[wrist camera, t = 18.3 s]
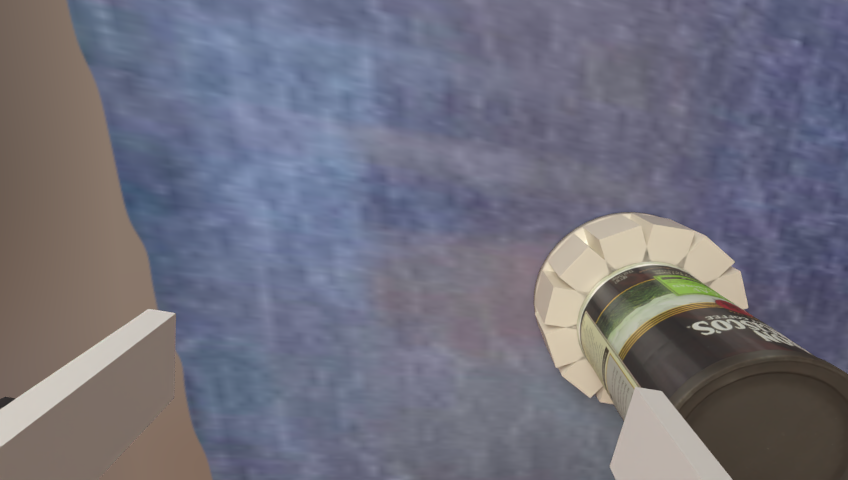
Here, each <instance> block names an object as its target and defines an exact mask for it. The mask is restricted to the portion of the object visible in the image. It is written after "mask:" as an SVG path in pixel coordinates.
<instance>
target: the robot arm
mask: <svg viewBox="0 0 848 480" xmlns="http://www.w3.org/2000/svg"><path fill="white" fill-rule="evenodd" d="M175 327H176V313H171V312H165V311H159V310H152V309H148V310H146V311H145V312H143V313H142V314H141V315H139V316H137V317H136V318H135V319H133V320H132V321H130V322H129V323H127V324H126V325H124V326H123V327H121V328H120V329H118V330H117V331H115V332H114V333H112V334H111V335H109V336H108V337H106V338H105V339H103V340H102V341H100V342H99V343H98V344H96V345H95V346H93V347H92V348H90V349H89V350H87V351H86V352H85V353H83V354H81V355H80V356H78V357H77V358H76V359H74V360H72V361H71V362H69V363H68V364H67V365H65V366H64V367H62V368H61V369H59V370H58V371H56V372H55V373H53V374H52V375H51V376H49V377H47V378H46V379H45V380H43V381H42V382H40V383H39V384H37V385H36V386H34V387H33V388H31V389H30V390H28V391H27V392H25V393H24V394H22V395H21V396H19V397H18V398H16V399H15V398H9V397H4V398H2V399H0V480H99V479H100V477H101V476H102V475H103V474H104V473H105V472H106V471H107V470H108V469H109V468H110V467H111V465H113V463H114V462H115V461H116V460H117V459H118V458H119V457H120V456H121V455H122V454H123V453H124V452H125V450H126V449H127V448H128V447H129V446H130V445H131V444H132V443H133V442H134V440H136V439H137V438H138V436H139V435H140V434H141V433H142V432H143V431H144V430H145V429H146V428H147V427H148V426H149V425H150V423H151V422H152V421H153V420H154V419H155V418H156V417H157V416H158V415H159V414H160V413H161V412H162V411H163V409H164V408H165V407H166V406H167V405H168V404H169V403H170V402H171V401H172V400H173V399H174V380H175V378H174V377H175ZM610 469H611V471H612V473H613V475H614V477H615V479H616V480H732V478H731V477H730V476H729V475H728V473H727V472H726V471H725V470H724V468H723V467H722V466H721V465H720V463H719V462H718V461H717V460H716V458H715V457H714V456H713V455H712V453H711V452H710V451H709V450H708V448H707V447H706V446H705V445H704V443H703V442H702V441H701V440H700V438H699V437H698V436H697V435H696V433H695V432H694V431H693V430H692V428H691V427H690V426H689V425H688V423H687V422H686V421H685V420H684V418H683V417H682V416H681V415H680V413H679V412H678V411H677V410H676V408H675V407H674V406H673V405H672V403H671V402H670V401H669V400H668V398H667V397H666V396H665V395H664V393H663V392H662V391H658V390H652V389H646V388H640V387H635V389H634V392H633V395H632V399H631V402H630V405H629V408H628V411H627V414H626V417H625V420H624V423H623V427H622V430H621V433H620V436H619V439H618V442H617V445H616V448H615V451H614V454H613V458H612V461H611V464H610Z"/></svg>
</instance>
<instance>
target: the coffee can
mask: <svg viewBox="0 0 848 480" xmlns="http://www.w3.org/2000/svg"><path fill="white" fill-rule="evenodd" d="M577 337H578V342H579V346H580V348H581V351H582V353H583V355H584V356H585V358H586V359H587V361H588V362H589V363H590V364H591V366H592V368H593V369H594V371H595V373H596V374H597V376H598V378H599V380H600V381H601V383H602V385H603V386H604V388H605V390H606V391H607V393H608V395H609V397H610V398H611V400H612V402H613V404H614V405H615V407H616V409H617V410H618V412H619V414H620V415H621V417H622V419H623V421H624V420H625V417H626V414H627V411H628V408H629V405H630V402H631V399H632V395H633V392H634V389H635V387H640V388H646V389H652V390H658V391H662V392H663V393H664V395H665V396H666V397H667V398H668V400H669V401H670V402H671V403H672V405H673V406H674V407H675V408H676V410H677V411H678V412H679V413H680V415H681V416H682V417H683V418H684V420H685V421H686V422H687V423H688V425H689V426H690V427H691V428H692V430H693V431H694V432H695V433H696V435H697V436H698V437H699V438H700V440H701V441H702V442H703V443H704V445H705V446H706V447H707V448H708V450H709V451H710V452H711V453H712V455H713V456H714V457H715V458H716V460H717V461H718V462H719V463H720V465H721V466H722V467H723V468H724V470H725V471H726V472H727V473H728V475H729V476H730V477H731V478H732V480H848V374H847V373H845V372H844V371H842V370H841V369H839V368H837V367H836V366H834V365H832V364H830V363H828V362H826V361H825V360H822V359H820V358H817V357H815V356H814V355H812V354H811V353H809V352H808V351H806V350H805V349H803V348H802V347H800V346H799V345H797V344H795V343H794V342H792V341H791V340H789V339H788V338H786V337H785V336H783V335H782V334H780V333H779V332H777V331H775V330H774V329H773V328H771V327H769V326H768V325H766V324H765V323H763V322H762V321H760V320H758V319H757V318H755V317H754V316H752V315H751V314H749V313H748V312H746V311H745V310H743V309H742V308H740V307H739V306H737V305H735V304H734V303H733V302H731V301H729V300H728V299H726V298H725V297H723V296H722V295H720V294H719V293H717V292H716V291H714V290H713V289H711V288H710V287H708V286H707V285H705V284H703V283H702V282H701V281H699V280H698V279H697V278H696V277H694V276H693V275H692V274H690V273H689V272H687V271H686V270H684V269H682V268H680V267H677V266H675V265H673V264H669V263H663V262H641V263H635V264H631V265H628V266H625V267H622V268H620V269H617V270H615V271H613V272H612V273H610V274H609V275H607V276H606V277H604V278H603V279H602V280H601V281H600V282H598V283H597V284H596V285H595V286H594V287H593V289H592V290H591V291H590V292H589V294H588V295H587V297H586V298H585V300H584V302H583V304H582V306H581V308H580V311H579V315H578V320H577Z"/></svg>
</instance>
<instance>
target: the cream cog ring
mask: <svg viewBox="0 0 848 480" xmlns="http://www.w3.org/2000/svg"><path fill="white" fill-rule="evenodd" d="M641 262H663V263H669V264H673V265H675V266H677V267H680V268H682V269H684V270H686V271H687V272H689V273H690V274H692V275H693V276H694V277H696V278H697V279H698V280H699V281H701V282H702V283H703V284H705V285H707V286H708V287H710V288H711V289H713V290H714V291H716V292H717V293H719V294H720V295H722V296H723V297H725V298H726V299H728V300H729V301H731V302H733V303H734V304H735V305H737V306H739V307H740V308H742V309H746V308H748V303H747V299H746V294H745V290H744V285H743V280H742V276H741V271H739V270H737V269H735V268H733V267H731V265H732V264H733V263H734V261H733V260H732V259H731V258H730V257H729V256H728V255H727V254H726V253H724V252H723V251H722V250H721V249H720V248H719V247H718V246H717V245H715V244H714V243H713V242H712V241H711V240H710V239H709V238H708V237H707V236H705V235H703V234H701V233H698V232H696V231H694V230H692V229H690V228H688V227H685V226H683V225H681V224H679V223H677V222H675V221H673V220H670V219H667V218H661V217H658V216H655V215H650V214H646V213H637V212H621V213H614V214H608V215H605V216H601V217H598V218H595V219H593V220H591V221H588V222H586V223H584V224H582V225H581V226H579V227H577V228H575V229H574V230H573V231H571V232H570V233H569V234H567V235H566V236H565V237H564V238H563V239H562V240H561V241H560V242H558V243H557V245H556V246H555V247H554V248H553V249H552V251H551V252H550V253H549V255H548V256H547V258H546V259H545V261H544V263H543V265H542V267H541V269H540V271H539V274H538V277H537V280H536V284H535V290H534V310H535V316H536V320H537V323H538V326H539V328H540V330H541V333H542V336H543V339H544V342H545V345H546V347H547V349H548V351H549V353H550V355H551V358H552V360H553V362H554V364H555V366H556V368H557V367H558V368H559V370H560V373H561V375H562V376H563V377H564V378H565V379H567V380H568V381H569V382H570V383H572V384H573V385H574V386H576V387H577V388H578V389H579V390H581V391H582V392H583V393H584V394H586V395H587V396H588V397H590V398H591V397H592V396H593V395H594V394H596V396H597V398H598V400H599V401H600V402H602V403H609V404H613V402H612V400H611V398H610V397H609V395H608V393H607V391H606V390H605V388H604V386H603V385H602V383H601V381H600V380H599V378H598V376H597V374H596V373H595V371H594V369H593V368H592V366H591V364H590V363H589V362H588V361H587V359H586V358H585V356H584V355H583V353H582V351H581V348H580V346H579V342H578V337H577V320H578V315H579V311H580V308H581V306H582V304H583V302H584V300H585V298H586V297H587V295H588V294H589V292H590V291H591V290H592V289H593V287H594V286H595V285H596V284H597V283H598V282H600V281H601V280H602V279H603V278H604V277H606V276H607V275H609V274H610V273H612V272H613V271H615V270H617V269H620V268H622V267H625V266H628V265H631V264H635V263H641Z"/></svg>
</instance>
